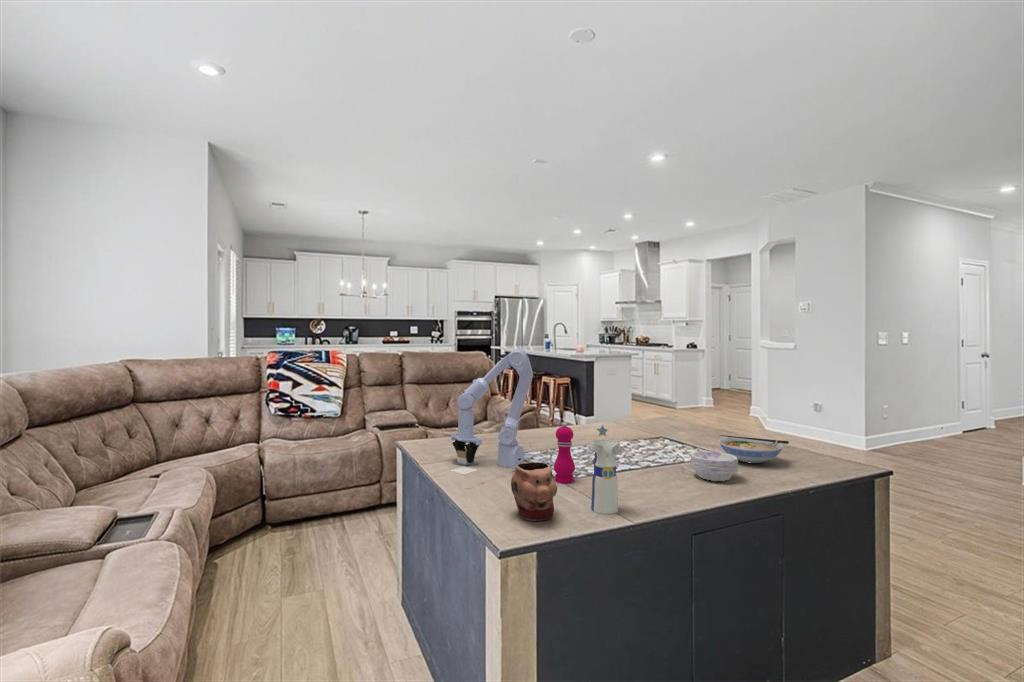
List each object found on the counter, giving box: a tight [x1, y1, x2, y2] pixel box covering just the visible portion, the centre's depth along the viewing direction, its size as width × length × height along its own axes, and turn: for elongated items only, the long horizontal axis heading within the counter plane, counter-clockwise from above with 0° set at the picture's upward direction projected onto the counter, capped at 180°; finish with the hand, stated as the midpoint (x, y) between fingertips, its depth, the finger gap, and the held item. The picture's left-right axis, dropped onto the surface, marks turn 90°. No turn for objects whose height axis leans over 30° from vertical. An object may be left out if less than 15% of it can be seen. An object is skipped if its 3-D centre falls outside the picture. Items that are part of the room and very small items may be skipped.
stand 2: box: [450, 466, 478, 475], centre depth 178 cm, size 7×7×1 cm
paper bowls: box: [689, 450, 739, 482], centre depth 174 cm, size 15×15×8 cm
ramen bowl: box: [718, 434, 790, 464], centre depth 195 cm, size 25×23×8 cm
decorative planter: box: [510, 461, 558, 522], centre depth 139 cm, size 20×12×14 cm, turn 23°
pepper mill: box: [553, 421, 576, 484], centre depth 170 cm, size 7×7×20 cm
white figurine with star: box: [590, 424, 622, 515], centre depth 143 cm, size 8×9×25 cm
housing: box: [456, 447, 475, 465], centre depth 187 cm, size 4×4×5 cm
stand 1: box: [452, 461, 479, 468], centre depth 187 cm, size 7×7×1 cm
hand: (465, 461), depth 187 cm, fingers closed on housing, 4 cm apart
